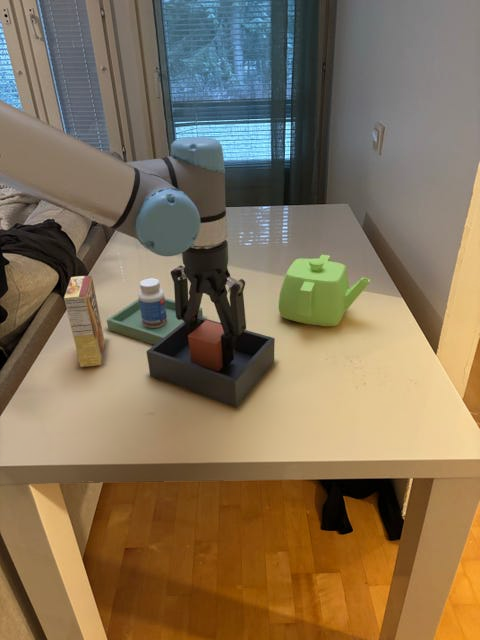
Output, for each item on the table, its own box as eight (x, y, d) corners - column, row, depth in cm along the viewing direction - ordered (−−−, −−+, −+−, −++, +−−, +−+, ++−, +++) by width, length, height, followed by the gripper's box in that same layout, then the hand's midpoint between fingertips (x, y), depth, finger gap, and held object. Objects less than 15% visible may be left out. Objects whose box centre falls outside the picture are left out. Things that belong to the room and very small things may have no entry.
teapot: (370, 301, 109) (377, 249, 102) (356, 347, 93) (363, 289, 86) (294, 289, 115) (296, 239, 108) (268, 331, 99) (269, 275, 92)
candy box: (85, 343, 97) (69, 276, 89) (106, 340, 97) (92, 274, 90) (80, 368, 89) (62, 298, 81) (102, 365, 90) (86, 295, 82)
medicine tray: (108, 329, 101) (106, 319, 100) (148, 302, 111) (147, 293, 110) (165, 348, 94) (164, 338, 93) (202, 318, 104) (202, 308, 103)
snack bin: (150, 375, 87) (146, 351, 84) (194, 337, 98) (192, 314, 95) (236, 407, 79) (235, 381, 76) (274, 362, 89) (274, 338, 87)
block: (190, 362, 86) (187, 335, 83) (208, 346, 90) (206, 319, 87) (218, 371, 83) (216, 344, 80) (235, 354, 88) (233, 327, 85)
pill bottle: (167, 327, 100) (162, 287, 95) (142, 330, 99) (135, 289, 94) (167, 314, 105) (162, 275, 100) (142, 317, 104) (136, 277, 99)
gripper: (267, 242, 73) (267, 360, 85) (170, 224, 82) (183, 335, 94) (244, 259, 68) (247, 384, 80) (143, 239, 76) (160, 354, 88)
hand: (212, 357), depth 87 cm, fingers closed on block, 6 cm apart
